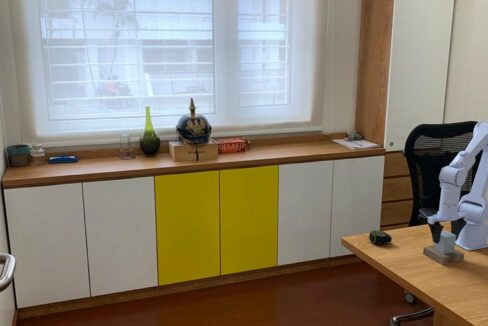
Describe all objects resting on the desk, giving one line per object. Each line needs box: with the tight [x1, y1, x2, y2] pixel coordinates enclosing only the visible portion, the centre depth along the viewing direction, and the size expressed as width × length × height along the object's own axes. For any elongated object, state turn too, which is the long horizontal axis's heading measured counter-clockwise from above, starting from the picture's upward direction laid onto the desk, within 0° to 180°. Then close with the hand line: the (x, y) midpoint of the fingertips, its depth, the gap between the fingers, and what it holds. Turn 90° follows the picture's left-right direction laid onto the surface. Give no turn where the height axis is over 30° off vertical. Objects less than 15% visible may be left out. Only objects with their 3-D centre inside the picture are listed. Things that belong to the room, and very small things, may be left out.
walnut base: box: [422, 245, 465, 266], centre depth 165 cm, size 9×9×3 cm
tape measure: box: [368, 229, 393, 245], centre depth 177 cm, size 7×7×4 cm
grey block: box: [433, 230, 456, 254], centre depth 164 cm, size 5×5×6 cm
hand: (444, 241), depth 164 cm, fingers open, 7 cm apart
